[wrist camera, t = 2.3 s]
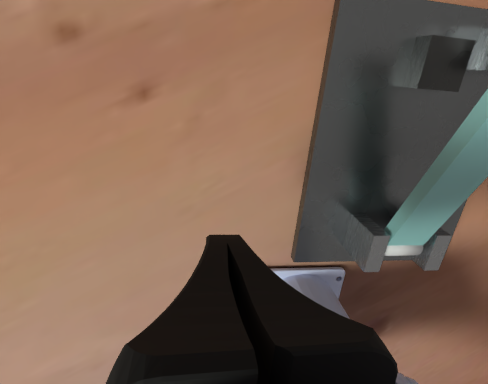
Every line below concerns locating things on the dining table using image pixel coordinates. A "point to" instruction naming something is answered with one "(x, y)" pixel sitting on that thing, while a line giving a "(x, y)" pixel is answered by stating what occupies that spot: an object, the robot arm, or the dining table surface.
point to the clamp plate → (386, 123)
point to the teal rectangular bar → (443, 185)
